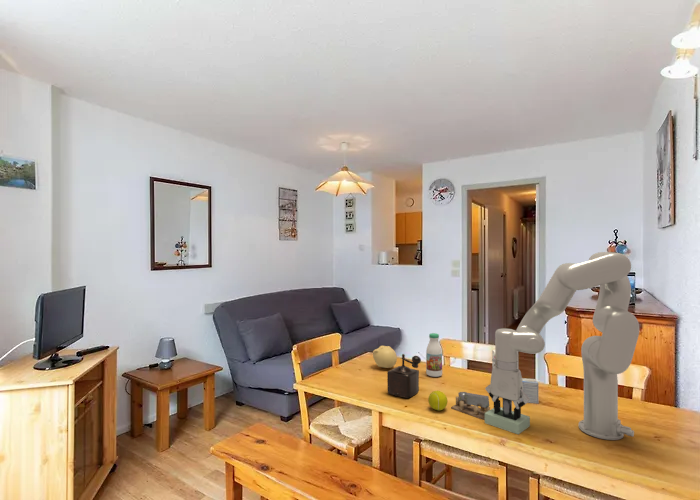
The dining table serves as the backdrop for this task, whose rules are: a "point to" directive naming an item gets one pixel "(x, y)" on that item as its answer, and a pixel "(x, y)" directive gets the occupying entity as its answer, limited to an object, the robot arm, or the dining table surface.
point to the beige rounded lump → (385, 356)
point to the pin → (507, 408)
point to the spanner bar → (474, 399)
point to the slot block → (507, 421)
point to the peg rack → (470, 409)
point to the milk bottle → (434, 356)
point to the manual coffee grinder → (404, 379)
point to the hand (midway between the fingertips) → (506, 415)
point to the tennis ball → (437, 400)
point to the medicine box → (530, 390)
